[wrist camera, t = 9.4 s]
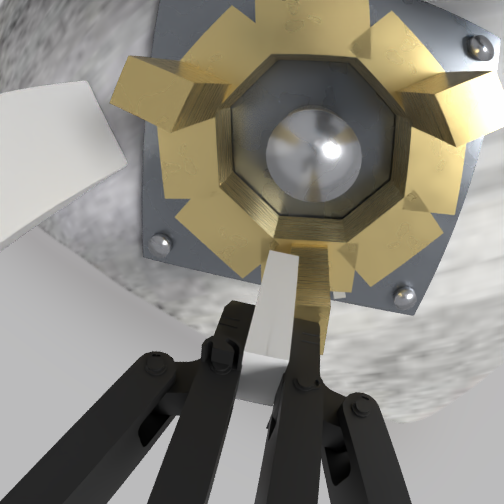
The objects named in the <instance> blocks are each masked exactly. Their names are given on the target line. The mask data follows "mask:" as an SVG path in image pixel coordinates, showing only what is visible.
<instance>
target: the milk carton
mask: <svg viewBox="0 0 504 504" xmlns="http://www.w3.org/2000/svg"><path fill="white" fill-rule="evenodd" d="M127 164H128V163H127V160H126V158H125V156H124V154H123V152H122V150H121V148H120V146H119V144H118V142H117V140H116V138H115V136H114V134H113V132H112V131H111V129H110V127H109V124H108V122H107V120H106V118H105V116H104V114H103V112H102V110H101V108H100V106H99V104H98V102H97V100H96V98H95V96H94V94H93V91H92V89H91V87H90V85H89V83H88V82H87V81H74V82H65V83H57V84H50V85H43V86H37V87H31V88H25V89H19V90H14V91H9V92H4V93H0V252H1V251H2V250H4V249H5V248H6V247H8V246H9V245H10V244H12V243H13V242H14V241H16V240H17V239H19V238H20V237H21V236H23V235H24V234H26V233H27V232H29V231H30V230H31V229H33V228H34V227H36V226H37V225H39V224H40V223H42V222H43V221H45V220H46V219H48V218H49V217H51V216H52V215H54V214H55V213H57V212H58V211H60V210H61V209H63V208H64V207H66V206H68V205H69V204H70V203H72V202H73V201H75V200H76V199H77V198H79V197H80V196H82V195H83V194H85V193H86V192H87V191H89V190H90V189H92V188H93V187H95V186H96V185H98V184H99V183H101V182H102V181H104V180H105V179H107V178H108V177H110V176H112V175H113V174H115V173H116V172H118V171H119V170H121V169H123V168H124V167H126V166H127Z"/></svg>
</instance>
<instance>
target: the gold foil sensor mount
mask: <svg viewBox="0 0 504 504" xmlns="http://www.w3.org/2000/svg"><path fill="white" fill-rule="evenodd" d="M255 18H256V23H255V22H253V21H252V20H251V19H250V18H248V17H247V16H246V15H244V14H243V13H242V12H240V11H239V10H238V9H236V8H235V7H234V6H231V7H230V8H229V9H228V10H227V11H226V12H225V13H224V14H222V15H221V17H220V18H219V19H218V20H217V21H216V22H215V23H214V24H213V25H212V26H211V27H210V28H209V29H208V30H207V31H206V32H205V33H204V34H203V35H202V36H201V37H200V38H199V40H198V41H197V42H196V43H195V44H194V45H193V46H192V47H191V48H190V50H189V51H188V52H187V53H186V54H185V55H184V56H183V58H182V59H181V60H180V61H175V60H168V59H160V58H151V57H141V56H128V58H127V61H126V63H125V65H124V68H123V70H122V72H121V75H120V77H119V80H118V82H117V85H116V87H115V90H114V93H113V95H112V98H111V101H110V104H112V105H115V106H117V107H119V108H121V109H123V110H125V111H127V112H129V113H131V114H133V115H135V116H137V117H140V118H142V119H144V120H146V121H148V122H150V123H152V124H154V125H156V126H157V131H158V142H159V152H160V161H161V170H162V179H163V187H164V195H165V199H190V200H189V201H188V203H187V204H186V205H185V206H184V207H183V208H182V209H181V210H180V212H179V213H178V214H177V215H176V216H175V218H176V219H177V220H178V221H179V222H180V223H182V224H183V225H184V226H185V227H186V228H187V229H188V230H189V231H190V232H191V233H192V234H194V235H195V236H196V237H197V238H198V239H199V240H200V241H201V242H202V243H203V244H205V245H206V246H207V247H208V248H209V249H210V250H211V251H212V252H213V253H215V254H216V255H217V256H218V257H219V258H220V259H221V260H222V261H223V262H225V263H226V264H227V265H228V266H229V267H230V268H231V269H232V270H233V271H235V272H236V273H237V274H238V275H239V276H240V277H241V278H242V279H243V278H244V277H245V276H247V275H248V274H249V273H250V272H252V271H253V270H254V269H255V268H256V267H258V266H259V265H260V264H261V282H262V278H263V274H264V270H265V266H266V262H267V258H268V254H269V250H272V251H277V252H281V253H286V254H291V255H295V256H299V263H298V276H297V287H296V299H295V309H294V318H298V319H303V320H308V321H313V322H318V323H319V325H320V355H323V351H324V345H325V339H326V333H327V327H328V321H329V314H330V308H331V306H330V291H334V292H351V291H352V286H353V280H354V273H355V270H356V271H357V272H358V274H359V275H360V276H361V277H362V278H363V279H364V280H365V281H366V282H367V284H368V285H369V286H370V287H371V286H373V285H374V284H376V283H377V282H379V281H380V280H381V279H383V278H384V277H386V276H387V275H388V274H390V273H391V272H393V271H394V270H395V269H397V268H398V267H400V266H401V265H402V264H404V263H405V262H406V261H408V260H409V259H410V258H412V257H413V256H414V255H416V254H417V253H418V252H420V251H421V250H422V249H424V248H425V247H426V246H428V245H429V244H430V243H431V242H433V241H434V240H435V239H437V238H438V237H439V236H440V235H442V234H443V231H442V230H441V228H440V227H439V225H438V223H437V222H436V220H435V219H434V217H433V216H432V214H431V213H440V214H449V215H455V211H456V206H457V201H458V195H459V190H460V184H461V178H462V172H463V165H464V157H465V149H466V143H468V142H470V141H472V140H475V139H477V138H479V137H481V136H484V135H486V134H488V133H490V132H492V131H495V130H497V129H499V128H501V127H504V92H503V89H502V87H501V84H500V81H499V79H498V76H497V74H496V71H456V72H445V71H444V70H443V68H442V67H441V66H440V64H439V63H438V62H437V61H436V59H435V58H434V57H433V56H432V54H431V53H430V52H429V51H428V50H427V48H426V47H425V46H424V45H423V44H422V43H421V41H420V40H419V39H418V38H417V37H416V36H415V35H414V33H413V32H412V31H411V30H410V29H409V28H408V27H407V26H406V25H405V24H404V23H403V22H402V21H401V19H400V18H399V17H398V16H397V15H396V14H395V13H394V12H393V11H391V12H389V13H388V14H387V15H385V16H384V17H383V18H382V19H380V20H379V21H378V22H377V23H375V24H374V25H373V26H372V27H370V12H369V0H255ZM277 60H310V61H330V62H344V63H350V64H351V65H352V66H353V67H354V68H355V69H356V70H357V72H358V73H359V74H360V75H361V76H362V77H363V78H364V79H365V80H366V81H367V82H368V83H369V84H370V85H371V87H372V88H373V89H374V90H375V91H376V92H377V93H378V94H379V96H380V97H381V98H382V99H383V100H384V101H385V103H386V104H387V105H388V106H389V107H390V108H391V110H392V111H393V112H394V113H395V114H396V125H395V140H394V153H393V164H392V174H391V180H390V181H389V182H388V183H387V184H385V185H384V186H383V187H382V188H381V189H379V190H378V191H377V192H376V193H374V194H373V195H372V196H371V197H370V198H368V199H367V200H366V201H365V202H363V203H362V204H361V205H360V206H359V207H357V208H356V209H355V210H354V211H352V212H351V213H350V214H349V215H347V216H346V217H345V218H344V219H342V220H340V219H325V218H308V217H290V216H279V215H278V214H277V213H276V212H274V211H273V210H272V209H271V208H270V207H269V206H268V205H267V204H266V203H265V202H264V201H263V200H262V199H261V198H260V197H259V196H258V195H257V194H256V193H255V192H254V191H253V190H252V189H251V188H250V187H249V186H248V185H247V184H246V183H245V182H243V181H242V180H241V179H240V178H239V177H238V176H237V175H236V174H235V173H234V172H233V159H232V136H231V111H230V107H231V106H232V105H233V104H234V103H235V102H236V101H237V100H238V99H239V98H240V97H241V96H242V95H243V94H244V93H245V92H246V91H247V90H248V89H249V88H250V87H251V86H252V85H253V84H254V83H255V82H256V81H257V80H258V79H259V78H260V77H261V76H262V75H263V74H264V73H265V72H266V71H267V70H268V69H269V68H270V67H271V66H272V65H273V64H274V63H275V62H276V61H277Z"/></svg>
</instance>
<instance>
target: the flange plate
mask: <svg viewBox="0 0 504 504" xmlns="http://www.w3.org/2000/svg"><path fill="white" fill-rule="evenodd" d="M231 6H234V7H235V8H236V9H238V10H239V11H240V12H242V13H243V14H244V15H246V16H247V17H248V18H250V19H251V20H252V21H253V22H255V23H256V18H255V0H160V3H159V9H158V15H157V21H156V27H155V34H154V40H153V48H152V55H151V58H160V59H168V60H175V61H180V60H181V59H182V58H183V56H184V55H185V54H186V53H187V52H188V51H189V50H190V48H191V47H192V46H193V45H194V44H195V43H196V42H197V41H198V40H199V38H200V37H201V36H202V35H203V34H204V33H205V32H206V31H207V30H208V29H209V28H210V27H211V26H212V25H213V24H214V23H215V22H216V21H217V20H218V19H219V18H220V17H221V15H222V14H224V13H225V12H226V11H227V10H228V9H229V8H230V7H231ZM391 11H393V12H394V13H395V14H396V15H397V16H398V17H399V18H400V19H401V21H402V22H403V23H404V24H405V25H406V26H407V27H408V28H409V29H410V30H411V31H412V32H413V33H414V35H415V36H416V37H417V38H418V39H419V40H420V41H421V43H422V44H423V45H424V46H425V47H426V48H427V50H428V51H429V52H430V53H431V54H432V56H433V57H434V58H435V59H436V61H437V62H438V63H439V64H440V66H441V67H442V68H443V70H444V71H445V72H456V71H496V73H497V66H498V58H499V50H500V40H501V38H499V37H497V36H496V35H494V34H492V33H490V32H488V31H487V30H485V29H483V28H481V27H479V26H477V25H475V24H473V23H471V22H469V21H467V20H465V19H463V18H461V17H459V16H457V15H455V14H453V13H450V12H448V11H446V10H444V9H441V8H439V7H436V6H434V5H432V4H429V3H427V2H424V1H421V0H369V12H370V27H372V26H373V25H374V24H375V23H377V22H378V21H379V20H380V19H382V18H383V17H384V16H385V15H387V14H388V13H389V12H391ZM230 111H231V136H232V159H233V172H234V173H235V174H236V175H237V176H238V177H239V178H240V179H241V180H242V181H243V182H245V183H246V184H247V185H248V186H249V187H250V188H251V189H252V190H253V191H254V192H255V193H256V194H257V195H258V196H259V197H260V198H261V199H262V200H263V201H264V202H265V203H266V204H267V205H268V206H269V207H270V208H271V209H272V210H273V211H274V212H276V213H277V214H278V215H279V216H290V217H308V218H325V219H340V220H342V219H344V218H345V217H346V216H347V215H349V214H350V213H351V212H352V211H354V210H355V209H356V208H357V207H359V206H360V205H361V204H362V203H363V202H365V201H366V200H367V199H368V198H370V197H371V196H372V195H373V194H374V193H376V192H377V191H378V190H379V189H381V188H382V187H383V186H384V185H385V184H387V183H388V182H389V181H390V180H391V174H392V164H393V153H394V140H395V125H396V114H395V113H394V112H393V111H392V110H391V108H390V107H389V106H388V105H387V104H386V103H385V101H384V100H383V99H382V98H381V97H380V96H379V94H378V93H377V92H376V91H375V90H374V89H373V88H372V87H371V85H370V84H369V83H368V82H367V81H366V80H365V79H364V78H363V77H362V76H361V75H360V74H359V73H358V72H357V70H356V69H355V68H354V67H353V66H352V65H351V64H350V63H344V62H330V61H310V60H277V61H276V62H275V63H274V64H273V65H272V66H271V67H270V68H269V69H268V70H267V71H266V72H265V73H264V74H263V75H262V76H261V77H260V78H259V79H258V80H257V81H256V82H255V83H254V84H253V85H252V86H251V87H250V88H249V89H248V90H247V91H246V92H245V93H244V94H243V95H242V96H241V97H240V98H239V99H238V100H237V101H236V102H235V103H234V104H233V105H232V106H231V107H230ZM483 137H484V136H481V137H479V138H477V139H475V140H472V141H470V142H468V143H466V149H465V157H464V165H463V172H462V178H461V184H460V190H459V195H458V201H457V206H456V211H455V215H449V214H440V213H431V214H432V216H433V217H434V219H435V220H436V222H437V223H438V225H439V227H440V228H441V230H442V231H443V234H442V235H440V236H439V237H438V238H437V239H435V240H434V241H433V242H431V243H430V244H429V245H428V246H426V247H425V248H424V249H422V250H421V251H420V252H418V253H417V254H416V255H414V256H413V257H412V258H410V259H409V260H408V261H406V262H405V263H404V264H402V265H401V266H400V267H398V268H397V269H395V270H394V271H393V272H391V273H390V274H388V275H387V276H386V277H384V278H383V279H381V280H380V281H379V282H377V283H376V284H374V285H373V286H371V287H370V286H369V285H368V284H367V282H366V281H365V280H364V279H363V278H362V277H361V276H360V275H359V274H358V272H357V271H356V270H355V273H354V280H353V286H352V291H351V292H334V291H330V300H335V301H340V302H345V303H350V304H355V305H360V306H365V307H370V308H375V309H380V310H385V311H391V312H396V313H401V314H407V315H412V316H414V314H415V312H416V310H417V308H418V306H419V305H420V303H421V301H422V299H423V297H424V295H425V293H426V291H427V289H428V287H429V284H430V282H431V280H432V278H433V276H434V274H435V272H436V270H437V267H438V265H439V263H440V261H441V258H442V256H443V254H444V252H445V249H446V247H447V244H448V242H449V240H450V237H451V235H452V232H453V230H454V227H455V225H456V222H457V219H458V217H459V214H460V211H461V209H462V206H463V203H464V200H465V197H466V194H467V191H468V188H469V185H470V182H471V179H472V176H473V173H474V170H475V166H476V163H477V159H478V156H479V152H480V149H481V145H482V141H483ZM189 200H190V199H165V195H164V187H163V179H162V170H161V161H160V152H159V142H158V131H157V126H156V125H154V124H152V123H150V122H148V121H146V120H145V132H144V151H143V185H142V226H143V257H144V258H148V259H152V260H156V261H160V262H164V263H169V264H173V265H177V266H181V267H185V268H189V269H194V270H198V271H202V272H206V273H211V274H215V275H219V276H224V277H228V278H233V279H237V280H241V281H246V282H250V283H255V284H259V285H261V264H260V265H259V266H258V267H256V268H255V269H254V270H253V271H252V272H250V273H249V274H248V275H247V276H245V277H244V278H243V279H242V278H241V277H240V276H239V275H238V274H237V273H236V272H235V271H233V270H232V269H231V268H230V267H229V266H228V265H227V264H226V263H225V262H223V261H222V260H221V259H220V258H219V257H218V256H217V255H216V254H215V253H213V252H212V251H211V250H210V249H209V248H208V247H207V246H206V245H205V244H203V243H202V242H201V241H200V240H199V239H198V238H197V237H196V236H195V235H194V234H192V233H191V232H190V231H189V230H188V229H187V228H186V227H185V226H184V225H183V224H182V223H180V222H179V221H178V220H177V219H176V218H175V216H176V215H177V214H178V213H179V212H180V210H181V209H182V208H183V207H184V206H185V205H186V204H187V203H188V201H189Z"/></svg>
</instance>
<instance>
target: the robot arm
mask: <svg viewBox="0 0 504 504" xmlns="http://www.w3.org/2000/svg"><path fill="white" fill-rule="evenodd" d="M298 263H299V256H295V255H291V254H286V253H281V252H277V251H272V250H269V254H268V258H267V262H266V266H265V270H264V274H263V278H262V282H261V286H260V290H259V294H258V298H257V302H256V305H251V304H247V303H242V302H238V301H233V300H232V301H231V302H230V303H229V304H228V305H226V306H225V307H224V310H223V313H222V315H221V318H220V321H219V324H218V326H217V329H216V331H215V334H214V336H211V337H209V338H208V339H206V340H205V341H204V342H203V344H202V351H201V352H202V353H201V358H200V359H198V360H195V361H192V362H174V360H173V358H172V357H170V356H169V355H168V354H166V353H163V352H153V351H152V352H149V353H145V354H144V355H142V356H141V357H140V358H139V359H138V360H137V361H136V362H135V363H134V364H133V365H132V366H131V367H130V368H129V369H128V370H127V371H126V372H125V373H124V374H123V375H122V376H121V377H120V378H119V379H118V380H117V381H116V382H115V383H114V385H112V386H111V387H110V388H109V389H108V390H107V391H106V393H105V394H104V395H103V396H102V397H101V398H100V399H99V400H98V401H97V402H96V403H95V404H94V405H93V406H92V407H91V408H90V409H89V410H88V411H87V412H86V413H85V414H84V415H83V416H82V417H81V418H80V419H79V420H78V421H77V422H76V423H75V424H74V425H73V426H72V428H70V429H69V430H68V432H67V433H66V434H65V435H64V436H63V437H62V438H61V439H60V440H59V441H58V442H57V443H56V444H55V445H54V446H53V447H52V448H51V449H50V450H49V451H48V452H47V453H46V454H45V455H44V456H43V457H42V459H40V461H39V462H38V463H37V464H36V465H35V466H34V467H33V468H32V469H31V470H30V471H29V472H28V473H27V474H26V475H25V476H24V477H23V478H22V479H21V480H20V481H19V482H18V483H17V484H16V485H15V487H14V488H13V489H12V490H11V491H10V492H9V493H8V494H7V495H6V496H5V497H4V498H3V499H2V500H1V501H0V504H107V502H108V501H109V500H110V499H111V498H112V496H113V495H114V494H115V493H116V491H117V490H118V489H119V488H120V486H121V485H122V484H123V483H124V481H125V480H126V479H127V478H128V476H129V475H130V474H131V473H132V471H133V470H134V469H135V467H136V466H137V465H138V464H139V463H140V461H141V460H142V459H143V458H144V456H145V455H146V454H147V452H148V451H149V450H150V449H151V447H152V446H153V445H154V444H155V442H156V441H157V439H158V438H159V437H160V436H161V434H162V433H163V432H164V431H165V429H166V428H167V427H168V425H169V424H170V422H171V421H172V420H173V419H174V417H175V416H176V415H180V418H179V420H178V423H177V425H176V428H175V431H174V433H173V436H172V438H171V441H170V444H169V446H168V449H167V452H166V455H165V457H164V460H163V463H162V465H161V468H160V470H159V473H158V476H157V478H156V481H155V484H154V486H153V489H152V492H151V494H150V497H149V500H148V503H147V504H207V503H208V500H209V496H210V492H211V489H212V485H213V482H214V478H215V474H216V470H217V467H218V463H219V459H220V456H221V452H222V448H223V444H224V441H225V437H226V433H227V429H228V425H229V422H230V418H231V414H232V410H233V404H234V401H235V399H240V400H244V401H249V402H253V403H258V404H263V405H268V406H273V412H272V415H271V417H270V420H269V423H268V425H267V427H266V428H267V429H268V434H267V439H266V445H265V451H264V456H263V462H262V467H261V472H260V478H259V483H258V488H257V493H256V498H255V503H254V504H317V503H318V492H319V480H320V465H321V459H322V464H323V469H324V474H325V478H326V483H327V488H328V493H329V498H330V502H331V504H412V503H411V500H410V497H409V494H408V491H407V487H406V484H405V481H404V478H403V475H402V472H401V469H400V465H399V462H398V460H397V457H396V454H395V451H394V448H393V445H392V442H391V439H390V436H389V434H388V430H387V428H386V425H385V422H384V419H383V416H382V414H381V411H380V408H379V406H378V404H377V402H376V401H375V400H374V399H373V398H372V397H371V396H369V395H367V394H364V393H357V392H356V393H352V394H350V395H348V396H347V397H345V396H343V395H341V394H338V393H336V392H334V391H332V390H330V389H329V388H328V387H327V386H325V384H324V383H323V380H322V379H321V377H320V325H319V323H318V322H313V321H308V320H303V319H298V318H294V309H295V299H296V287H297V276H298ZM273 403H274V405H273Z"/></svg>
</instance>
